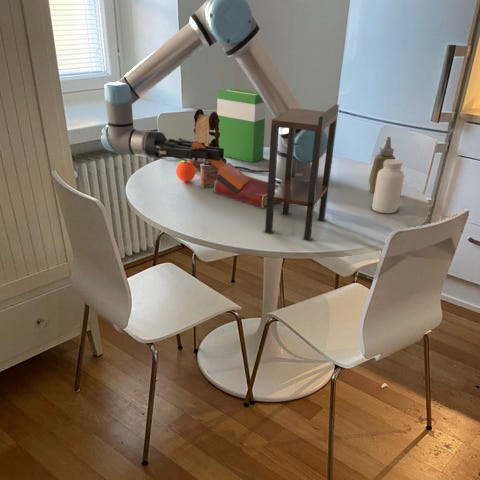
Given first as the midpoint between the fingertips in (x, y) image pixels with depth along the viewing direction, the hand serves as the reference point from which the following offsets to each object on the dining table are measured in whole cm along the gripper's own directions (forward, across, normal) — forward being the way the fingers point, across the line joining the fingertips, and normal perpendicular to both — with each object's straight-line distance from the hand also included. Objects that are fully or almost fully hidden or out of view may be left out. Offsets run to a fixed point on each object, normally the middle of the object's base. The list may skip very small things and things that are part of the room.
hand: (221, 154), depth 147 cm
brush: (-2, 0, -5) cm, 6 cm away
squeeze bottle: (+41, -42, -17) cm, 61 cm away
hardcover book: (+3, -18, -18) cm, 25 cm away
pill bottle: (+46, -25, -17) cm, 55 cm away
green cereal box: (-18, -61, -18) cm, 66 cm away
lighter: (-13, -22, -18) cm, 31 cm away
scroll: (-24, -41, -18) cm, 51 cm away
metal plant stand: (+24, 0, -17) cm, 30 cm away
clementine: (-24, -22, -18) cm, 37 cm away
